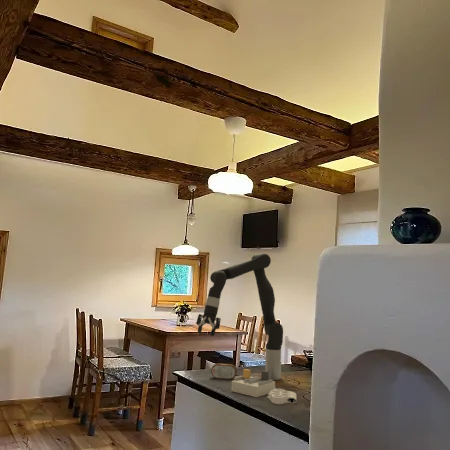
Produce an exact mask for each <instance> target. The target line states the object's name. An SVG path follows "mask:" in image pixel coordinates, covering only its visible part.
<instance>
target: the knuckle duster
mask: <svg viewBox="0 0 450 450" xmlns="http://www.w3.org/2000/svg"><path fill="white" fill-rule="evenodd" d="M267 395H268V396H266V398H268V400H269V401H271V403H272V404H276V405H283V404H296V403H297V401H298V400H297V399H298V398H297V393H296V392H294V391H291V390H290V391H289V390H285V389H283V388H278V389H273V390H272V391H270V393H268V394H267ZM291 399H293V400H292V402H291Z"/></svg>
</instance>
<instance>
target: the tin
mask: <svg viewBox="0 0 450 450" xmlns="http://www.w3.org/2000/svg"><path fill="white" fill-rule="evenodd" d="M210 372H211V376H212V377H213V378H214V379H217V380H218V379H220V380H233V379H235V377H237V374H238V370H237V367H236V366H235V365H234V364H231V363H223V362H221V363H219V362H218V363H217V362H216V363H215V364H213V365H212V367H211V369H210Z"/></svg>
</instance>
